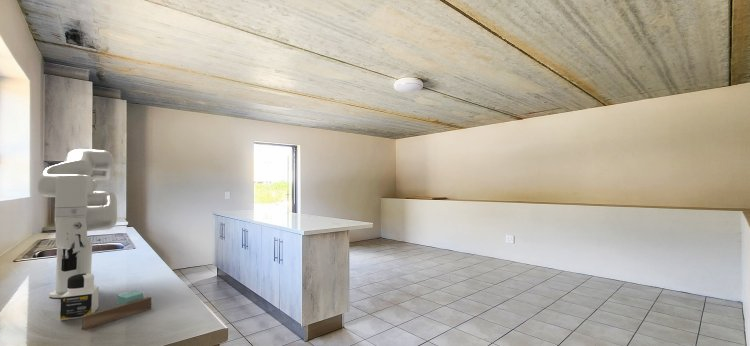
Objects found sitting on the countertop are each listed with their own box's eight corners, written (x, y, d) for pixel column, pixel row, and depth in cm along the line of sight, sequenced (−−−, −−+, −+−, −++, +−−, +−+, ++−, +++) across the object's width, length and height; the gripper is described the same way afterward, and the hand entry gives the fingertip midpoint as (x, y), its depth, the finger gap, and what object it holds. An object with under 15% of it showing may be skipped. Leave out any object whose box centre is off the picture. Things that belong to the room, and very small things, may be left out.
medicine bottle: (59, 321, 94) (61, 279, 94) (68, 312, 100) (70, 273, 101) (91, 316, 97) (92, 276, 98) (98, 308, 103) (99, 270, 104)
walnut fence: (81, 328, 89) (81, 315, 89) (147, 307, 104) (148, 296, 104) (84, 329, 88) (84, 317, 88) (151, 308, 103) (151, 297, 103)
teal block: (116, 311, 101) (117, 295, 101) (134, 305, 106) (134, 290, 106) (125, 314, 99) (125, 297, 99) (143, 308, 103) (143, 292, 104)
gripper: (96, 212, 103) (95, 270, 103) (75, 211, 110) (73, 265, 109) (66, 214, 97) (64, 276, 96) (45, 213, 104) (43, 270, 103)
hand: (69, 270), depth 103 cm, fingers closed
